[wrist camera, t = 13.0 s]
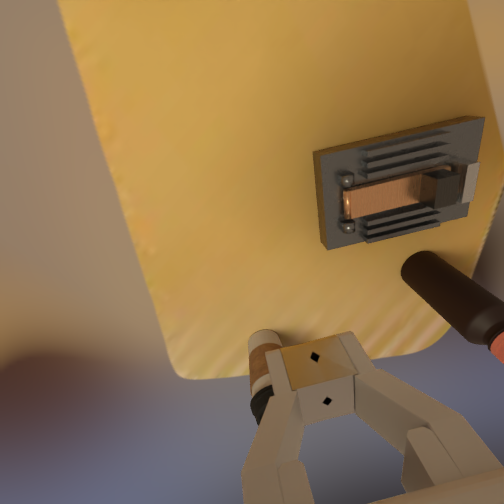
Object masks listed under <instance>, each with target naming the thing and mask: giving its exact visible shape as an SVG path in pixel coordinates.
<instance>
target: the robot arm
mask: <svg viewBox="0 0 504 504" xmlns="http://www.w3.org/2000/svg"><path fill="white" fill-rule="evenodd" d="M265 357H266V361H267V365H268V370H269V374H270V378H271V383H272V387H273V391H274V396H272V397H270V398H269V401H268V404H267V406H266V409H265V411H264V414H263V417H262V419H261V422H260V425H259V427H258V430H257V432H256V435H255V438H254V440H253V443H252V445H251V448H250V451H249V453H248V456H247V458H246V461H245V464H244V466H243V469H242V471H241V477H242V488H243V499H244V504H315V503H314V500H313V496H312V492H311V489H310V485H309V482H308V478H307V475H306V471H305V467H304V464H303V463H301V462H300V461H298V455H299V451H300V446H301V441H302V437H303V432H304V426H306V425H309V424H312V423H316V422H319V421H323V420H326V419H330V418H334V417H339V416H343V415H347V414H351V413H356V415H357V416H358V417H359V418H361V419H362V420H363V421H364V422H365V423H367V424H368V425H369V426H370V427H371V428H372V429H374V430H375V431H376V432H377V433H378V434H379V435H381V436H382V437H383V438H384V439H385V440H386V441H388V442H389V443H390V444H391V445H392V446H393V447H395V448H396V449H397V450H398V451H399V452H400V453H402V454H403V455H404V462H403V470H402V478H401V482H402V484H403V486H404V488H405V491H406V492H407V493H406V494H402V495H399V496H395V497H391V498H387V499H384V500H380V501H376V502H373V503H369V504H504V467H503V466H502V465H501V463H499V461H498V460H497V459H496V457H495V456H494V455H493V454H492V452H491V451H490V450H489V449H488V447H487V446H486V445H485V443H484V442H483V441H482V440H481V439H480V437H479V436H478V435H477V433H476V432H475V431H474V430H473V429H472V427H471V426H470V425H469V423H468V422H467V421H466V420H465V418H464V417H463V416H462V415H461V414H459V413H457V412H455V411H454V410H452V409H450V408H448V407H447V406H445V405H443V404H442V403H440V402H438V401H436V400H435V399H433V398H431V397H429V396H427V395H426V394H424V393H422V392H421V391H419V390H417V389H415V388H414V387H412V386H410V385H408V384H406V383H405V382H403V381H401V380H399V379H398V378H396V377H394V376H393V375H391V374H389V373H387V372H386V371H384V370H382V369H378V370H376V369H375V367H374V366H373V364H372V362H371V361H370V359H369V357H368V356H367V354H366V353H365V351H364V349H363V348H362V346H361V345H360V343H359V341H358V340H357V338H356V337H355V335H354V333H353V332H351V331H348V332H344V333H340V334H336V335H332V336H328V337H324V338H320V339H316V340H313V341H309V342H307V343H302V344H298V345H293V346H289V347H284V348H280V349H276V350H272V351H268V352H265Z"/></svg>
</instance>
